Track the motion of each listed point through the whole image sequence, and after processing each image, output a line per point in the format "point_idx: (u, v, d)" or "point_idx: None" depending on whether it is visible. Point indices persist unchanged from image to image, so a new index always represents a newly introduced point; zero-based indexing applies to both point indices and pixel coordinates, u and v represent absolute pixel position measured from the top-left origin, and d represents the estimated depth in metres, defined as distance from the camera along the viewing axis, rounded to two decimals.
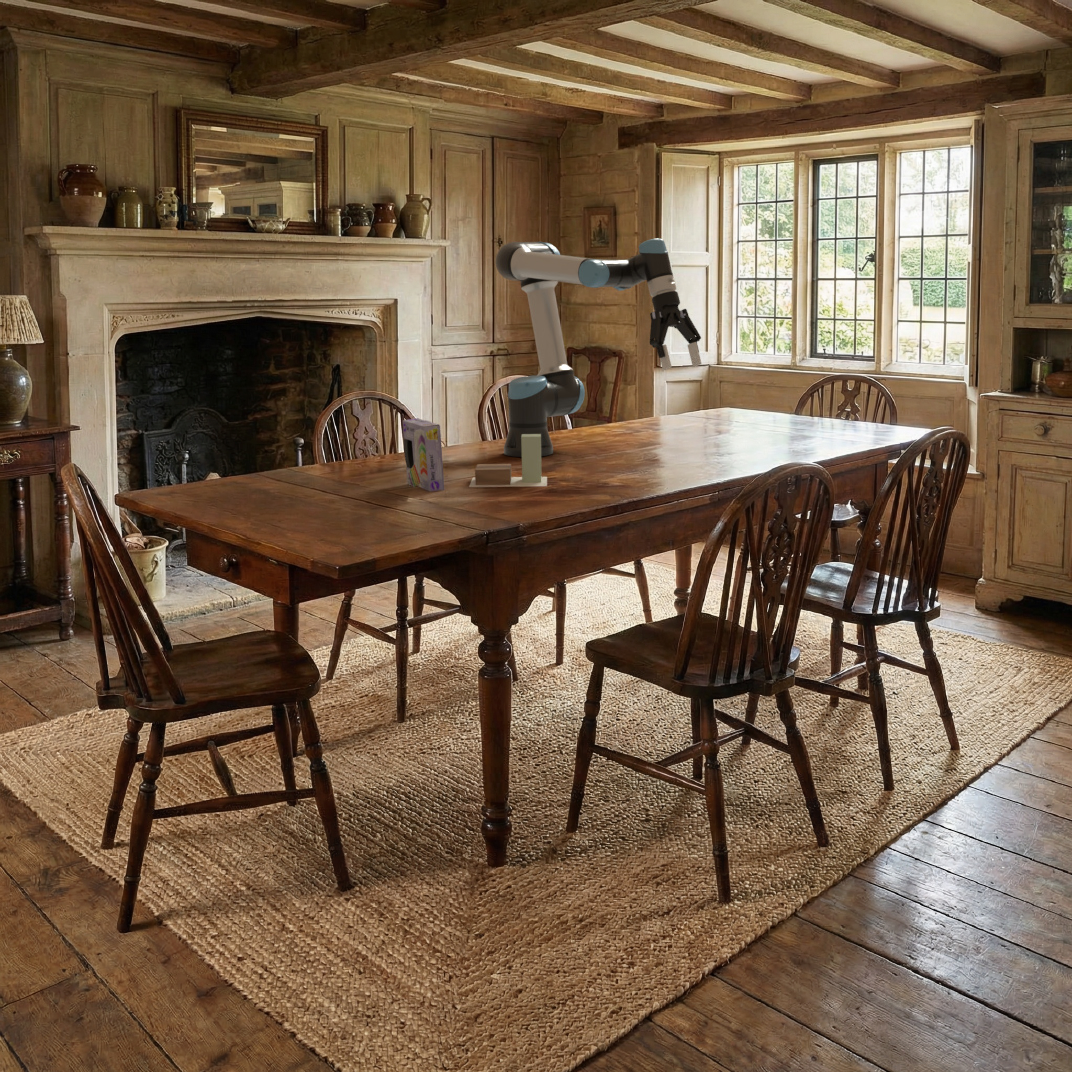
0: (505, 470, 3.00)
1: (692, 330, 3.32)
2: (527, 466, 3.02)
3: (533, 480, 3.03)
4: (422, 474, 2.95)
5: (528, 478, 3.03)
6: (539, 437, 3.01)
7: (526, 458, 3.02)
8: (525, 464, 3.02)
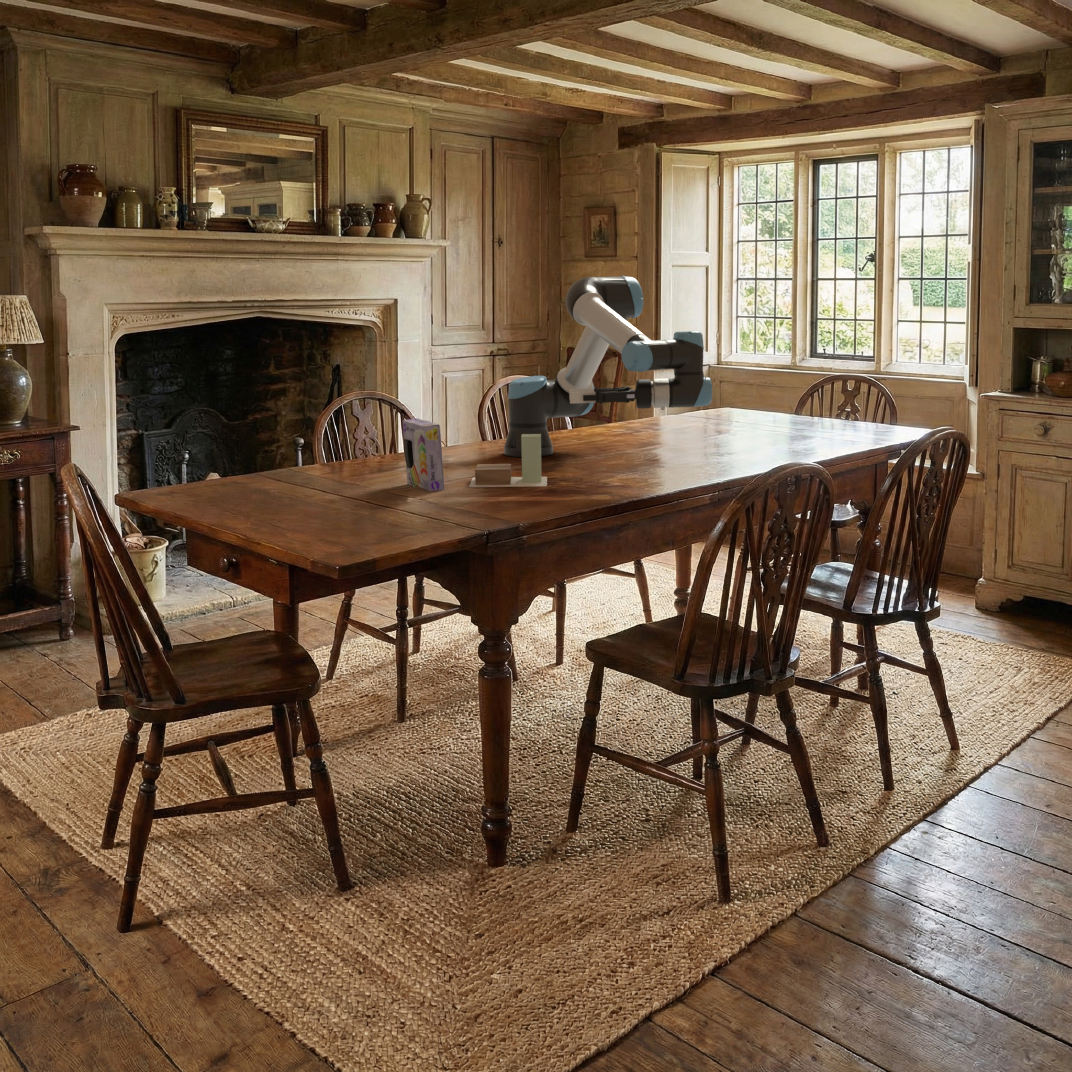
0: (505, 470, 3.00)
1: None
2: (527, 466, 3.02)
3: (533, 480, 3.03)
4: (422, 474, 2.95)
5: (528, 478, 3.03)
6: (539, 437, 3.01)
7: (526, 458, 3.02)
8: (525, 464, 3.02)
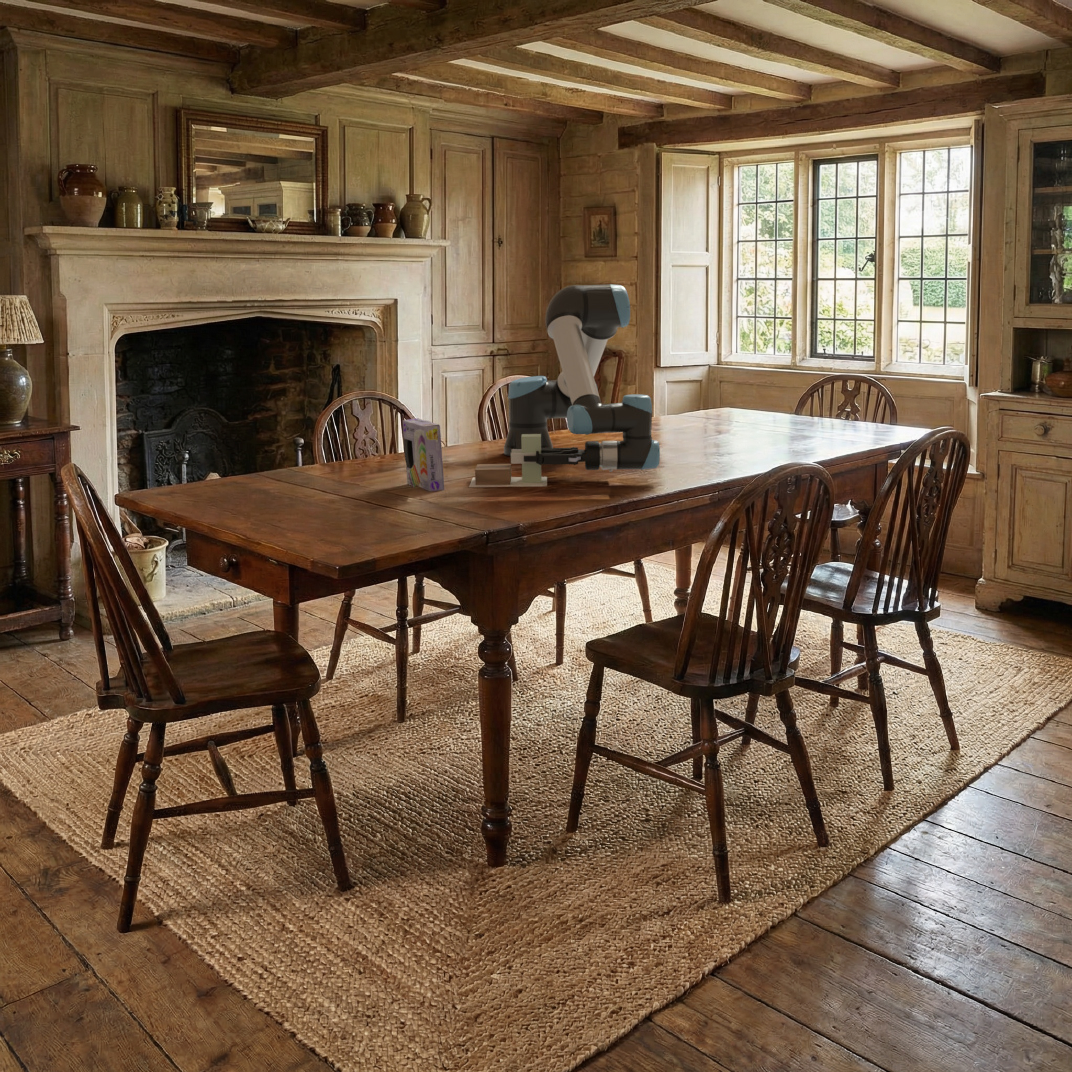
0: (505, 470, 3.00)
1: None
2: (527, 466, 3.02)
3: (533, 480, 3.03)
4: (422, 474, 2.95)
5: (528, 478, 3.03)
6: (539, 437, 3.01)
7: None
8: (525, 464, 3.02)
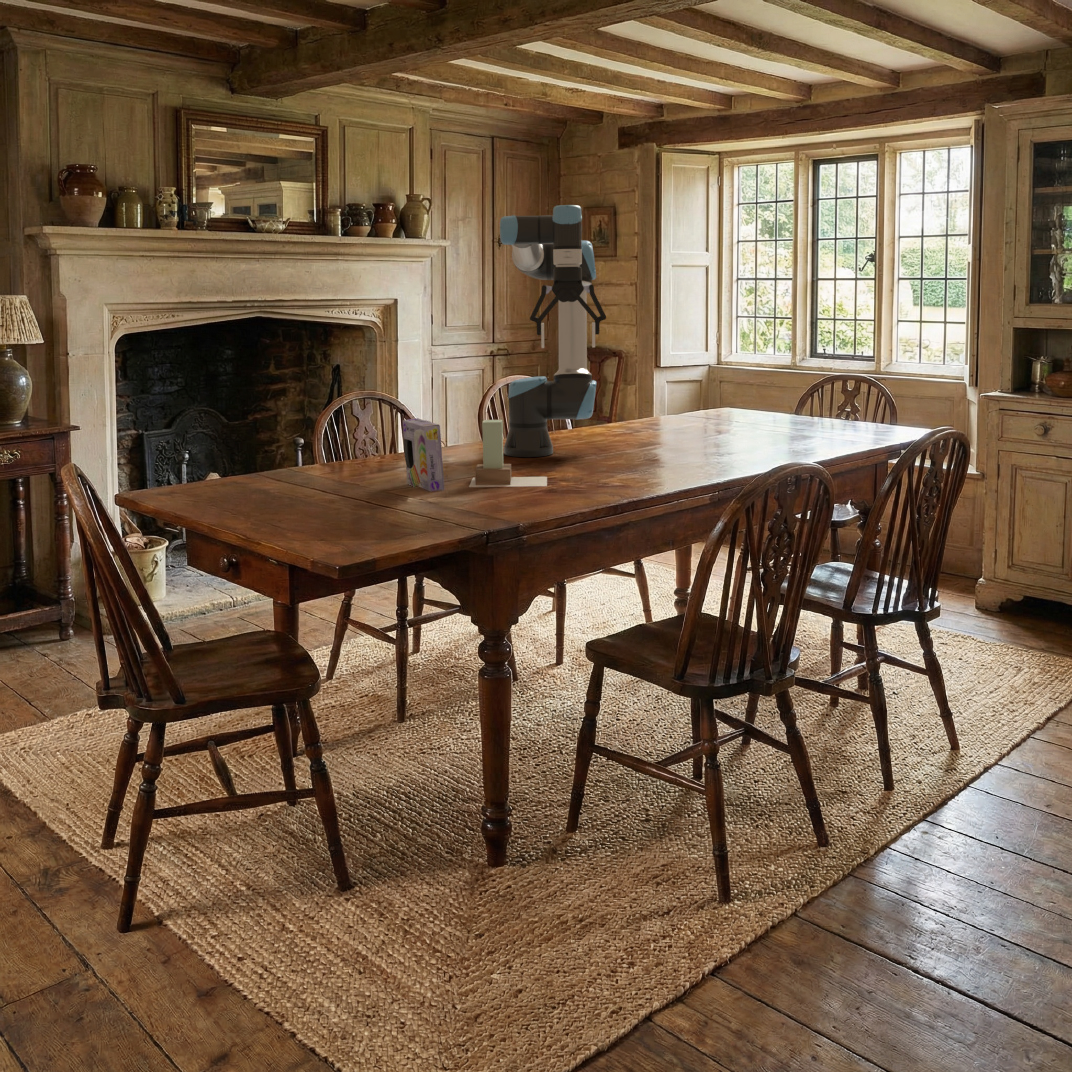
0: (505, 470, 3.00)
1: (597, 308, 3.08)
2: (488, 452, 3.01)
3: (494, 466, 3.01)
4: (422, 474, 2.95)
5: (489, 464, 3.01)
6: (500, 423, 2.99)
7: (487, 444, 3.00)
8: (486, 450, 3.01)
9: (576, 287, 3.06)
